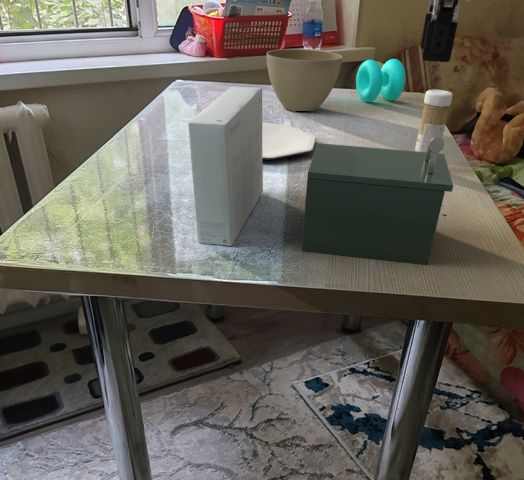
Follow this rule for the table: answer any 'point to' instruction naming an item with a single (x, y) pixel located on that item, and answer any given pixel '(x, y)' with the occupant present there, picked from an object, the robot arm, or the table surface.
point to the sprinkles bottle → (433, 115)
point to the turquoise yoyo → (380, 80)
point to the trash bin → (370, 220)
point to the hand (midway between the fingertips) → (433, 54)
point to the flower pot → (302, 76)
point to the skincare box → (226, 163)
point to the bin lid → (385, 165)
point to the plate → (285, 141)
